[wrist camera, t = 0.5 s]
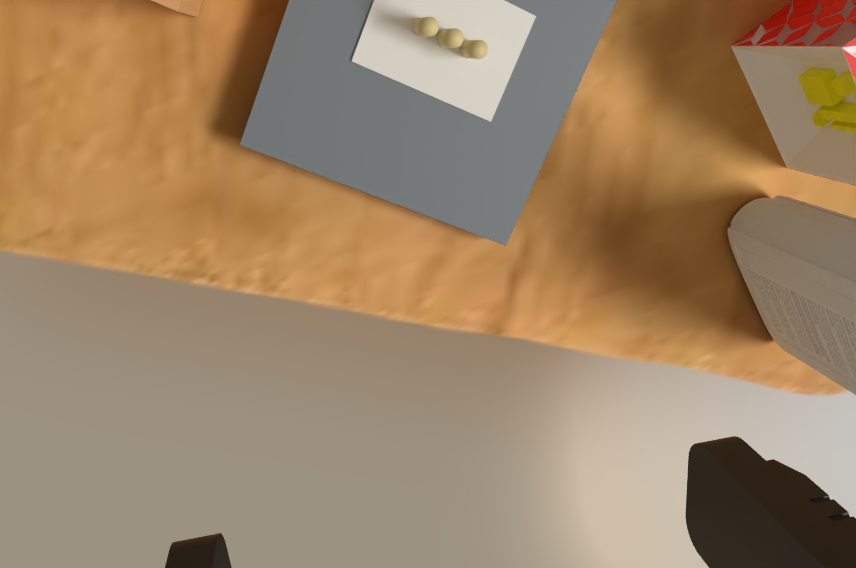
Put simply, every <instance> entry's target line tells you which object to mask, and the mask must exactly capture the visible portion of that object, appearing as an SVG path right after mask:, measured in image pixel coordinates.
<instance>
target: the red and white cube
mask: <svg viewBox="0 0 856 568" xmlns="http://www.w3.org/2000/svg"><path fill="white" fill-rule="evenodd" d="M731 48H732V49H733V52H734V54H735V56H736V58H737V60H738V62H739V65H740V67H741V69H742V71H743V73H744V75H745V78H746V80H747V82H748V84H749V86H750V89H751V91H752V93H753V95H754V97H755V99H756V102H757V104H758V106H759V108H760V110H761V113H762V115H763V117H764V119H765V121H766V123H767V126H768V128H769V130H770V132H771V134H772V137H773V139H774V141H775V143H776V145H777V147H778V150H779V152H780V154H781V156H782V158H783V161H784V163H785V165H786V168H789V169H793V170H796V171H800V172H804V173H808V174H812V175H816V176H820V177H824V178H828V179H832V180H836V181H840V182H844V183H848V184H852V185H856V0H794V1H793V2H792V3H790V4H789V5H787V6H786V7H785V8H783V9H782V10H781V11H779V12H778V13H777V14H775V15H774V16H772V17H771V18H770V19H768V20H767V21H766V22H764V23H763V24H762V25H759V26H758V27H757V28H755V29H754V30H753V31H751V32H750V33H748V34H747V35H746V36H744V37H743V38H742V39H740V40H739V41H737V42H736V43H735V44H733V46H731Z"/></svg>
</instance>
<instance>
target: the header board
mask: <svg viewBox="0 0 856 568" xmlns="http://www.w3.org/2000/svg"><path fill="white" fill-rule="evenodd" d="M616 2H617V0H289V2H288V5H287V8H286V11H285V14H284V17H283V20H282V23H281V26H280V28H279V31H278V34H277V37H276V40H275V43H274V46H273V49H272V52H271V55H270V58H269V61H268V64H267V66H266V69H265V72H264V75H263V78H262V81H261V84H260V87H259V90H258V93H257V96H256V99H255V102H254V104H253V107H252V110H251V113H250V116H249V119H248V122H247V125H246V128H245V131H244V134H243V137H242V140H241V143H240V145H241V146H244V147H246V148H249V149H252V150H254V151H257V152H260V153H262V154H265V155H267V156H270V157H273V158H275V159H278V160H281V161H283V162H286V163H289V164H291V165H294V166H296V167H299V168H302V169H304V170H307V171H310V172H312V173H315V174H318V175H320V176H323V177H326V178H328V179H331V180H333V181H336V182H339V183H341V184H344V185H347V186H349V187H352V188H355V189H357V190H360V191H362V192H365V193H368V194H370V195H373V196H376V197H378V198H381V199H384V200H386V201H389V202H392V203H394V204H397V205H399V206H402V207H405V208H407V209H410V210H413V211H415V212H418V213H421V214H423V215H426V216H428V217H431V218H434V219H436V220H439V221H442V222H444V223H447V224H450V225H452V226H455V227H457V228H460V229H463V230H465V231H468V232H471V233H473V234H476V235H479V236H481V237H484V238H487V239H489V240H492V241H494V242H497V243H500V244H502V245H505V246H506V244H507V242H508V239H509V237H510V235H511V233H512V231H513V228H514V226H515V224H516V222H517V220H518V217H519V215H520V213H521V211H522V209H523V206H524V204H525V202H526V200H527V198H528V195H529V193H530V191H531V189H532V187H533V184H534V182H535V180H536V178H537V176H538V173H539V171H540V169H541V167H542V165H543V162H544V160H545V158H546V156H547V154H548V151H549V149H550V147H551V145H552V143H553V140H554V138H555V136H556V134H557V132H558V129H559V127H560V125H561V123H562V121H563V118H564V116H565V114H566V112H567V110H568V107H569V105H570V103H571V101H572V99H573V96H574V94H575V92H576V90H577V88H578V85H579V83H580V81H581V79H582V77H583V74H584V72H585V70H586V68H587V66H588V63H589V61H590V59H591V57H592V54H593V52H594V50H595V48H596V46H597V43H598V41H599V39H600V37H601V35H602V32H603V30H604V28H605V26H606V24H607V21H608V19H609V17H610V15H611V13H612V10H613V8H614V6H615V4H616Z"/></svg>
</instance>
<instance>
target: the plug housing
mask: <svg viewBox="0 0 856 568" xmlns="http://www.w3.org/2000/svg"><path fill="white" fill-rule="evenodd" d="M152 1H154V2H156V3H159V4H161V5H163V6H166V7H168V8H170V9H173V10H175V11H178V12H181V13H185V14H188V15H192V16H195V17H198V14H199V11H200V8H201V5H202V1H203V0H152Z"/></svg>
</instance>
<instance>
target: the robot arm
mask: <svg viewBox="0 0 856 568" xmlns="http://www.w3.org/2000/svg"><path fill="white" fill-rule="evenodd" d="M686 523H687V528H688V532H689V535H690V538H691V541H692V543H693V545H694V547H695V549H696V550H697V552H698V554H699V555H700V556H701V557H702V559H703V560H704V561H705V563H706V564H707V565H708V567H709V568H856V518H854V517H850V516H849V514H848V512H847V511H846V510H845V509H844V508H843V507H841V506H840V505H839V504H838V503H837V502H836V501H835V500H830V499H829V495H828V494H826V493H825V492H824V491H823V490H822V489H820V487H818V486H817V485H816V484H815V483H814V482H813V481H811V480H810V479H809V478H808V477H807V476H806V475H804V474H802V473H800V472H798V471H796V470H794V469H792V468H790V467H788V466H786V465H784V464H782V463H779V462H778V461H776V460H768V461H766V460H764V459H763V458H762V457H761V456H760V455H759V454H758V453H757V452H756V451H754V450H753V449H752V448H751V447H750V446H749V445H748V444H747V443H746V442H744V441H743V440H742V439H741V438H739V437H735V436H734V437H729V438H723V439H718V440H713V441H707V442H702V443H697V444H694V445H693V446H692V447H691V449H690V452H689V461H688V480H687V499H686ZM165 568H231V564H230V559H229V556H228V551H227V547H226V543H225V540H224V537H223V535H222V534H221V533H219V534H214V535H209V536H204V537H198V538H193V539H188V540H183V541H178V542H173V543H172V545H171V547H170V550H169V554H168V558H167V562H166V566H165Z"/></svg>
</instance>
